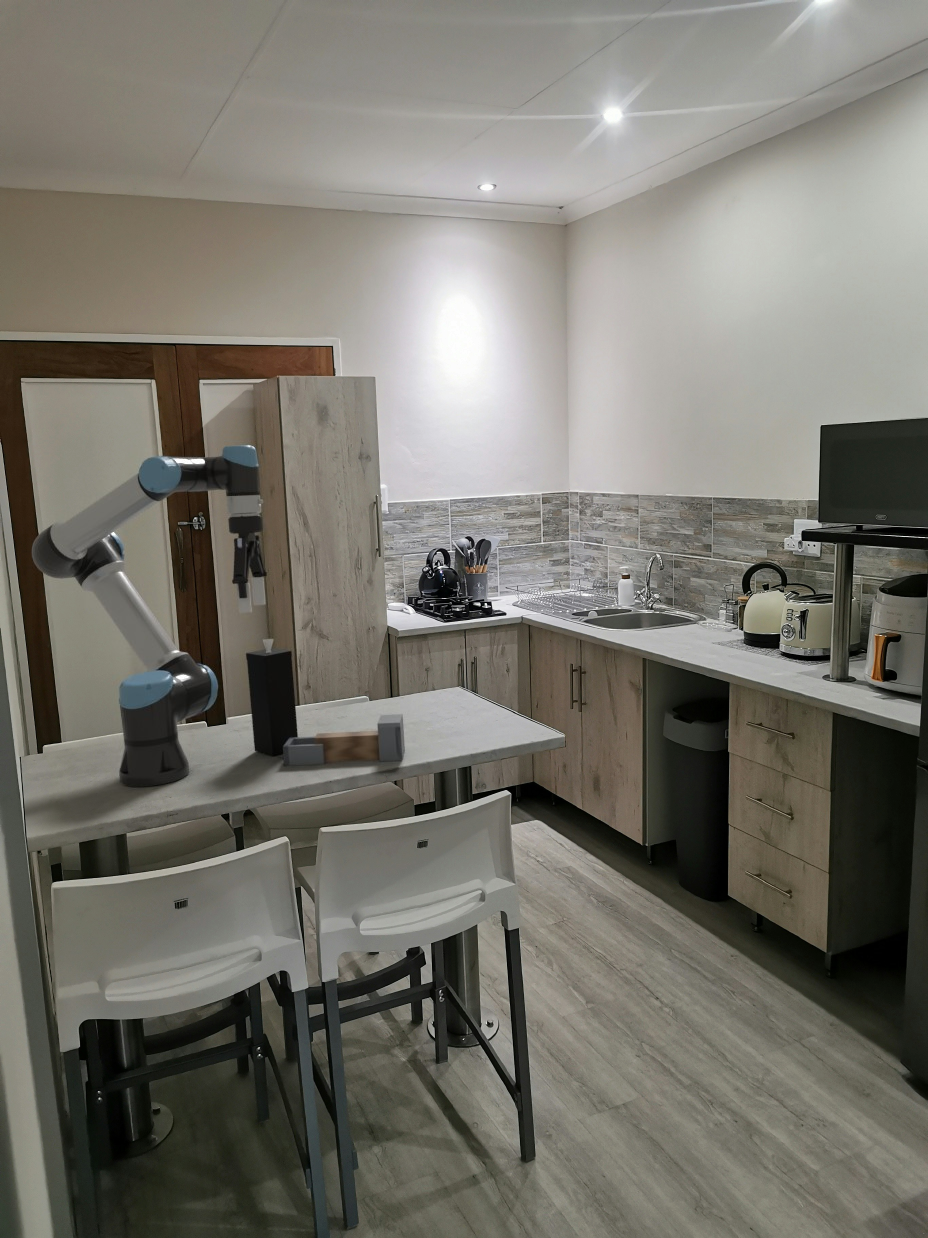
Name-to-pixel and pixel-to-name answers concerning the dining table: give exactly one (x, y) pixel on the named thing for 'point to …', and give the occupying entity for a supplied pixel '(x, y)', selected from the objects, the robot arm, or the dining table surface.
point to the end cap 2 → (391, 737)
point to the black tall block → (271, 698)
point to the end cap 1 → (303, 751)
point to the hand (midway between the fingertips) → (252, 608)
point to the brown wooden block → (349, 745)
